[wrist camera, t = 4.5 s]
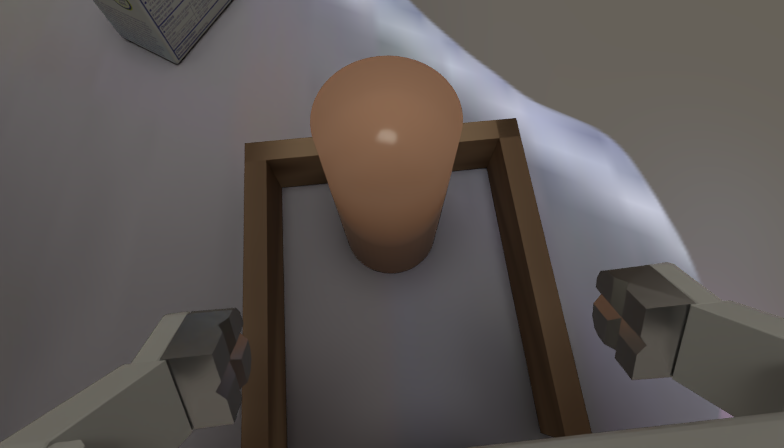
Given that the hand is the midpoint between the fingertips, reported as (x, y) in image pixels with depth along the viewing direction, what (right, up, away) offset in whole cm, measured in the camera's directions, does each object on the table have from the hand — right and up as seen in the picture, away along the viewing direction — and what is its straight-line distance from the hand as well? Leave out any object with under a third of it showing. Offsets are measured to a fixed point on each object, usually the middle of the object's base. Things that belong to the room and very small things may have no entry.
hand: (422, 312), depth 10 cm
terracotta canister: (-1, +2, +12) cm, 12 cm away
